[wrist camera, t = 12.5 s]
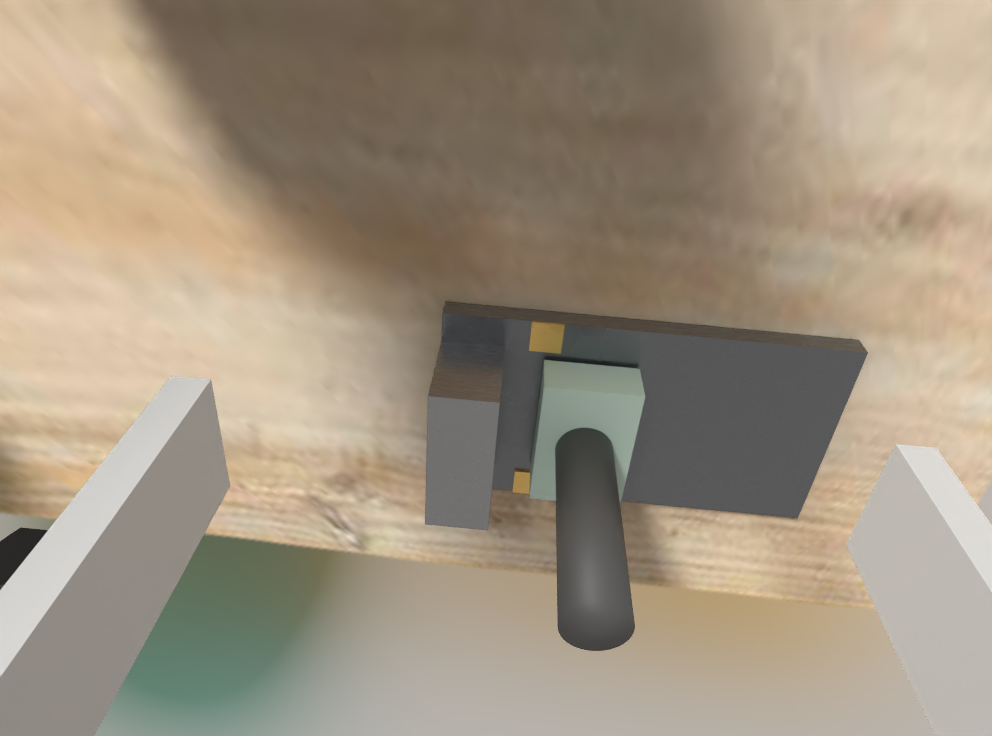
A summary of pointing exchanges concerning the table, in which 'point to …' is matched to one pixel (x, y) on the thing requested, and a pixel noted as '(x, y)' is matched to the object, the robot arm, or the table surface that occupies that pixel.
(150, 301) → the table surface
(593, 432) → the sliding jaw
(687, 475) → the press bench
